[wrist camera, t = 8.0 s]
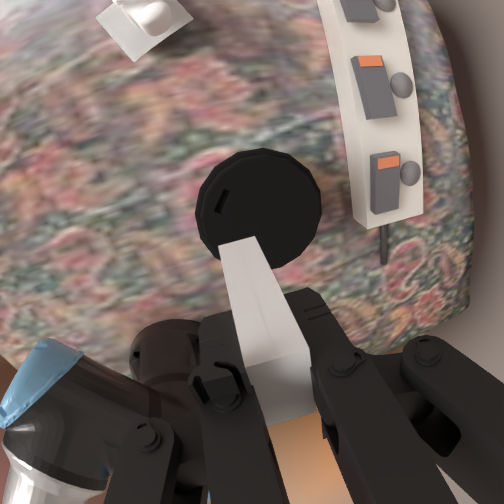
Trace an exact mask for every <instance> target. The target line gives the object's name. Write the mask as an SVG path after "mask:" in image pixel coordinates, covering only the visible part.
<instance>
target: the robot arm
mask: <svg viewBox="0 0 504 504" xmlns="http://www.w3.org/2000/svg"><path fill="white" fill-rule="evenodd" d="M218 248H219V253H220V258H221V262H222V267H223V272H224V276H225V281H226V286H227V290H228V295H229V300H230V304H231V309H232V310H230V311H227V312H223V313H219V314H215V315H212V316H208V317H204V318H203V320H202V322H201V324H200V323H197V322H194V321H189V320H166V321H161V322H158V323H155V324H152V325H150V326H148V327H147V328H145V329H144V330H142V331H141V332H140V333H139V334H138V335H137V336H136V338H135V339H134V341H133V343H132V346H131V351H130V358H129V364H130V370H131V373H132V377H133V379H131V378H129V377H127V376H125V375H122V374H120V373H118V372H116V371H114V370H112V369H110V368H108V367H106V366H104V365H102V364H100V363H98V362H96V361H94V360H93V359H91V358H89V357H87V356H85V355H84V352H82V351H77V350H75V349H73V348H71V347H69V346H67V345H65V344H63V343H61V342H59V341H57V340H55V339H51V338H46V339H42V340H41V341H39V342H38V343H37V344H36V345H35V346H34V347H33V349H32V350H31V352H30V353H29V355H28V356H27V358H26V359H25V361H24V362H23V364H22V365H21V367H20V369H19V370H18V372H17V374H16V376H15V377H14V379H13V381H12V383H11V384H10V386H9V388H8V390H7V392H6V394H5V396H4V398H3V400H2V402H1V405H0V427H1V428H3V429H6V431H5V434H4V438H3V441H2V446H3V448H4V450H5V452H6V454H7V456H8V458H9V460H10V463H11V466H10V471H9V474H8V478H7V483H6V487H5V492H4V497H3V502H2V504H86V502H87V499H89V498H90V497H93V496H96V495H98V494H101V493H103V492H104V491H105V489H106V485H107V481H108V478H109V476H112V477H111V481H110V484H109V487H108V490H107V494H106V497H105V500H104V504H207V502H208V501H211V504H290V503H289V500H288V496H287V493H286V489H285V486H284V483H283V479H282V476H281V472H280V470H279V465H278V462H277V459H276V455H275V452H274V448H273V445H272V442H271V439H270V436H269V433H268V430H267V426H269V425H273V424H277V423H280V422H284V421H287V420H291V419H294V418H297V417H301V416H304V415H307V414H310V413H313V412H316V411H317V409H316V406H317V408H318V410H319V413H320V415H321V421H322V433H323V439H325V438H327V440H328V442H329V444H330V446H331V449H332V452H333V454H334V456H335V459H336V462H337V464H338V466H339V469H340V471H341V474H342V476H343V479H344V481H345V483H346V486H347V488H348V491H349V493H350V496H351V498H352V501H353V503H354V504H458V502H457V501H456V499H455V497H454V495H453V493H452V492H451V490H450V488H449V486H448V484H447V483H446V481H445V479H444V477H443V476H442V474H441V472H440V470H439V469H438V467H437V465H438V466H439V467H440V468H441V469H442V470H443V471H444V472H445V473H446V474H447V475H448V476H449V477H450V478H451V479H452V480H454V481H455V482H456V483H457V484H458V485H459V486H460V487H461V488H462V489H463V490H464V491H465V492H466V493H467V494H468V495H469V496H470V497H471V498H472V499H474V500H475V501H476V502H477V503H478V504H504V384H503V383H502V382H501V381H499V380H498V379H497V378H495V377H494V376H493V375H491V374H490V373H489V372H487V371H486V370H484V369H483V368H482V367H480V366H479V365H478V364H476V363H475V362H473V361H472V360H471V359H469V358H468V357H466V356H465V355H464V354H462V353H461V352H460V351H458V350H457V349H455V348H454V347H452V346H451V345H450V344H448V343H447V342H445V341H444V340H442V339H440V338H438V337H435V336H429V335H424V336H417V337H415V338H413V339H411V340H409V342H408V343H407V344H406V345H405V346H404V348H403V352H402V353H396V354H387V355H371V354H366V353H365V352H364V351H363V350H362V349H360V348H357V347H355V346H353V345H352V343H351V342H350V341H349V339H348V337H347V336H346V334H345V333H344V331H343V330H342V328H341V326H340V325H339V323H338V322H337V320H336V319H335V317H334V316H333V314H332V313H331V311H330V309H329V308H328V306H326V303H325V302H324V300H323V299H322V297H321V295H320V294H319V293H317V292H315V291H314V290H312V289H310V288H308V287H307V288H304V289H301V290H297V291H294V292H290V293H287V294H284V295H283V293H282V291H281V289H280V287H279V285H278V283H277V281H276V279H275V277H274V275H273V272H272V270H271V268H270V266H269V264H268V262H267V260H266V258H265V256H264V254H263V252H262V250H261V248H260V246H259V244H258V242H257V240H256V238H255V236H253V237H249V238H246V239H242V240H238V241H234V242H231V243H227V244H223V245H220V246H218ZM435 463H436V464H437V465H436V464H435Z"/></svg>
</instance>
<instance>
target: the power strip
mask: <svg viewBox="0 0 504 504" xmlns="http://www.w3.org/2000/svg"><path fill="white" fill-rule="evenodd" d="M373 3H374V5H375V8H376V11H377V14H378V17H379V20H378V21H377V22H375V23H356V22H347V20H346V17H345V14H344V12H343V9H342V6H341V3H340V0H317V4H318V7H319V11H320V15H321V19H322V23H323V27H324V32H325V36H326V40H327V45H328V49H329V54H330V58H331V63H332V68H333V73H334V78H335V84H336V89H337V95H338V100H339V106H340V112H341V119H342V125H343V132H344V139H345V146H346V154H347V162H348V170H349V179H350V189H351V199H352V211H353V219H355V220H356V221H357V222H358V223H360V224H361V225H362V226H364V227H365V228H366V229H371V228H375V227H378V226H380V244H381V264H382V265H383V266H385V265H386V264H387V224H389V223H392V222H396V221H399V220H403V219H406V218H410V217H413V216H417V215H420V214H423V168H422V148H421V134H420V123H419V113H418V104H417V96H416V89H415V82H414V75H413V69H412V63H411V58H410V52H409V47H408V42H407V38H406V33H405V29H404V24H403V20H402V16H401V12H400V8H399V4H398V1H397V0H373ZM375 55H382V59H383V62H384V65H385V69H386V72H387V76H388V79H389V83H390V87H391V91H392V95H393V98H394V103H395V107H396V111H397V115H398V116H395V117H388V118H379V119H371V120H366V117H365V112H364V108H363V104H362V100H361V96H360V92H359V89H358V85H357V81H356V78H355V74H354V71H353V67H352V64H351V60H350V59H351V58H353V57H354V56H375ZM389 151H396V152H398V153H400V191H399V209H396V210H392V211H388V212H385V213H381V214H377V215H375V214H374V213H373V212H371V211H370V155H372V154H377V153H383V152H389Z"/></svg>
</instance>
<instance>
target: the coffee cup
mask: <svg viewBox="0 0 504 504" xmlns="http://www.w3.org/2000/svg"><path fill="white" fill-rule="evenodd" d="M321 215H322V210H321V196H320V190H319V188H318V186H317V184H316V182H315V180H314V178H313V176H312V174H311V173H310V171H309V170H308V169H307V168H306V167H305V166H303V165H302V164H301V163H300V162H298V161H297V160H296V159H294V158H293V157H292V156H291V155H289V154H286V153H282V152H278V151H274V150H270V149H266V148H260V149H254V150H248V151H242V152H237V153H236V154H234V155H232V156H231V157H229V158H228V159H226V160H224V161H223V162H221V163H220V164H218V165H217V166H215V167H214V169H213V170H212V171H211V173H210V174H209V176H208V177H207V179H206V180H205V181H204V183H203V184H202V186H201V187H200V190H199V195H198V200H197V205H196V210H195V217H196V221H197V226H198V230H199V234H200V239H201V240H202V241H203V243H204V244H205V245H206V247H207V248H208V249H209V251H210V252H211V253H212V255H213V256H214V257H215V258H217V259H219V260H220V261H221V258H220V253H219V248H218V246H220V245H223V244H227V243H231V242H234V241H238V240H242V239H246V238H249V237H253V236H255V238H256V240H257V242H258V244H259V246H260V248H261V250H262V252H263V254H264V256H265V258H266V260H267V262H268V264H269V266H270V268H271V269H275V268H280V267H282V266H284V265H286V264H287V263H289V262H290V261H292V260H294V259H295V258H297V257H298V256H300V255H301V254H302V252H303V251H304V250H305V249H306V247H307V246H308V245H309V244H310V242H311V241H312V240H313V239H314V237H315V234H316V230H317V227H318V224H319V221H320V218H321Z"/></svg>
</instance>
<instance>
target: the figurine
mask: <svg viewBox="0 0 504 504" xmlns="http://www.w3.org/2000/svg"><path fill="white" fill-rule="evenodd" d="M112 1H113V2H114V3H113V4H112V5H111V6H109V7H108V8H107V9H105V10H104V11H103V12H102V13H100V14H99V15H98V16H97V17H95V18H96V19H97V20H98V22H99V23H100V24H101V25H102V26H103V27H104V28H105V30H106V31H107V32H108V33H109V34H110V35H111V37H112V38H113V39H114V40H115V41H116V42H117V43H118V45H119V46H120V47H121V48H122V49H123V50H124V52H125V53H126V54H127V55H128V56H129V58H130V59H131V60H132V61H133V62H135V61H136V60H137V59H139V58H140V57H141V56H142V55H144V54H145V53H146V52H148V51H149V50H150V49H152V48H153V47H154V46H156V45H157V44H158V43H160V42H161V41H162V40H164V39H165V38H167V37H168V36H169V35H171V34H172V33H174V32H175V31H177V30H178V29H180V28H181V27H182V26H184V25H186V24H187V23H189V22H190V21H192V20H193V18H192V16H191V15H190V14H189V13H188V12H187V11H186V10H185V9H184V7H183V6H182V5H181V4H180V3H179V2H178V1H177V0H112Z"/></svg>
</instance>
